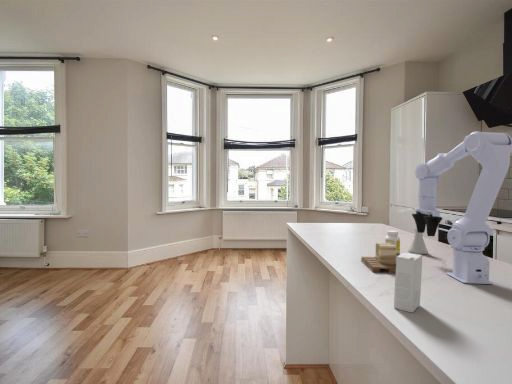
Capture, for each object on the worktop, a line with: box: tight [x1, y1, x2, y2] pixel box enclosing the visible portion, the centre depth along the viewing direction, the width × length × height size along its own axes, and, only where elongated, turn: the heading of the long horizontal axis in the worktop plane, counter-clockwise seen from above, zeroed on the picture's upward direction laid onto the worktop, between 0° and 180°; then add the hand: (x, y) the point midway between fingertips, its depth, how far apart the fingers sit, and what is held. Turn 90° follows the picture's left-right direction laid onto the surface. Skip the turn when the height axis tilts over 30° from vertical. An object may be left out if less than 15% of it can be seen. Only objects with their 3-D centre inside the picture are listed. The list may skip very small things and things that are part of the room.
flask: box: [407, 227, 429, 255], centre depth 129 cm, size 7×7×10 cm
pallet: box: [360, 256, 397, 274], centre depth 106 cm, size 14×12×2 cm
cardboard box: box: [374, 242, 397, 264], centre depth 105 cm, size 5×5×6 cm
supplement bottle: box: [384, 230, 401, 258], centre depth 123 cm, size 5×5×10 cm
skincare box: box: [393, 252, 423, 313], centre depth 71 cm, size 6×4×12 cm
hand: (425, 234), depth 112 cm, fingers open, 7 cm apart
